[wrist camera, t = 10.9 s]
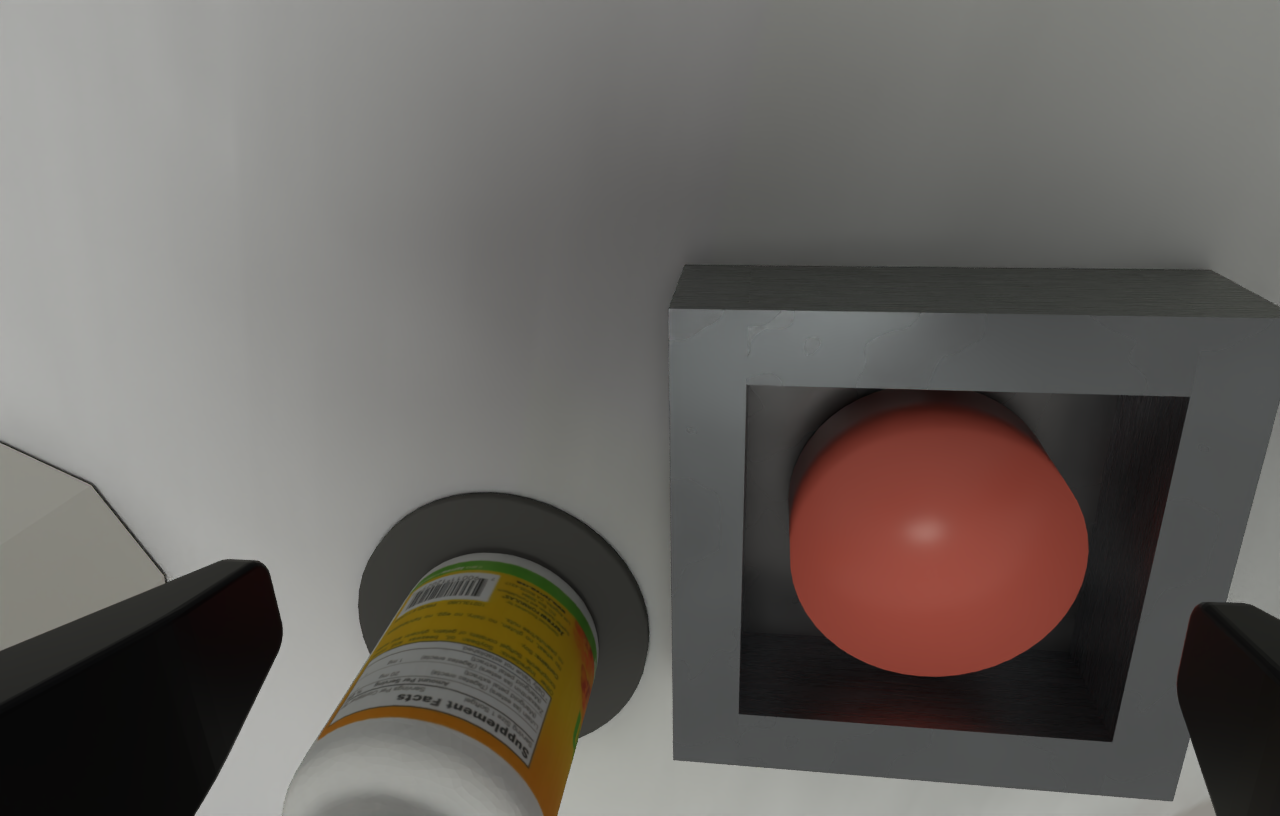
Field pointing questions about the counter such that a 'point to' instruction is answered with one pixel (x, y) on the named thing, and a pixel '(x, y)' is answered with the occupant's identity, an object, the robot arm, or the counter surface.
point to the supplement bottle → (460, 701)
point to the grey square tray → (1071, 436)
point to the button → (932, 533)
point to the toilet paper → (60, 550)
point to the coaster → (532, 537)
